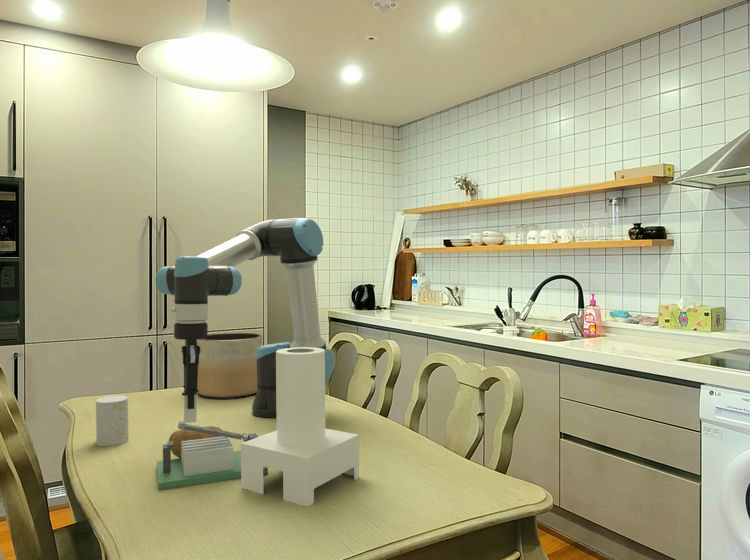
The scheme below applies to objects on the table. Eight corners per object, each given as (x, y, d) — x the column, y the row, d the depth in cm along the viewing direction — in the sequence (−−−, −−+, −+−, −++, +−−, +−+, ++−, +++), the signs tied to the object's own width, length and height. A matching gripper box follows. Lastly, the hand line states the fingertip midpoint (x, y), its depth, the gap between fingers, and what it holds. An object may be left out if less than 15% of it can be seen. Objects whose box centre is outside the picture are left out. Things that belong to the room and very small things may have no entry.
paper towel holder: (307, 507, 113) (306, 360, 112) (241, 488, 123) (239, 352, 122) (359, 477, 129) (358, 348, 128) (296, 462, 139) (295, 342, 138)
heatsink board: (255, 454, 145) (255, 424, 145) (267, 473, 131) (267, 440, 131) (157, 467, 136) (156, 435, 136) (158, 489, 122) (158, 454, 122)
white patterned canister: (116, 446, 152) (115, 403, 152) (89, 445, 154) (89, 401, 153) (134, 438, 160) (134, 396, 160) (109, 436, 161) (108, 395, 161)
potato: (230, 458, 142) (230, 426, 142) (174, 469, 134) (174, 436, 134) (217, 448, 150) (217, 418, 150) (163, 458, 142) (163, 427, 142)
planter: (184, 398, 208) (183, 339, 208) (214, 384, 233) (214, 332, 233) (248, 401, 204) (247, 340, 203) (272, 386, 229) (272, 332, 228)
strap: (245, 438, 138) (247, 433, 138) (247, 442, 135) (249, 436, 135) (177, 426, 132) (179, 420, 132) (178, 429, 129) (180, 423, 129)
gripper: (172, 320, 136) (171, 416, 136) (175, 324, 124) (174, 430, 124) (204, 319, 139) (203, 414, 139) (210, 323, 127) (209, 427, 127)
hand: (190, 421), depth 131 cm, fingers closed
